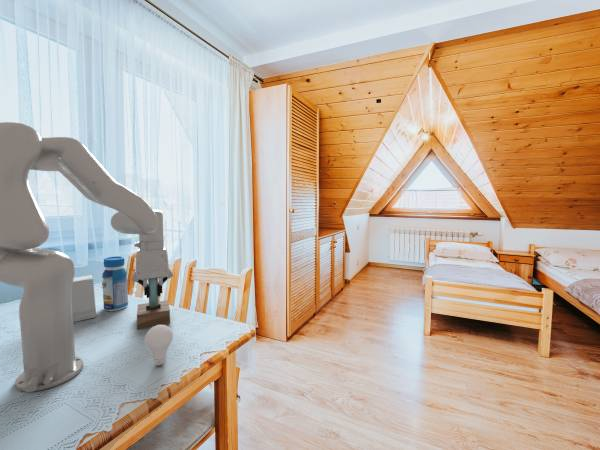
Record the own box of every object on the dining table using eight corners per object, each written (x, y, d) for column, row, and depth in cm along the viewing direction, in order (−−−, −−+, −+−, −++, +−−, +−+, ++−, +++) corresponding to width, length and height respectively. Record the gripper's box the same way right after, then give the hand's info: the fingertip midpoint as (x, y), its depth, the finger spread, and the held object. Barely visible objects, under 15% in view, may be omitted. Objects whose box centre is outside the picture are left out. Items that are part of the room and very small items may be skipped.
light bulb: (166, 355, 80) (165, 318, 79) (178, 364, 76) (177, 325, 75) (141, 365, 75) (140, 326, 74) (152, 376, 71) (151, 334, 70)
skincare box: (95, 312, 107) (93, 274, 105) (96, 318, 102) (94, 278, 101) (66, 318, 102) (64, 277, 100) (66, 324, 97) (63, 282, 95)
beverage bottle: (126, 310, 109) (124, 259, 107) (100, 313, 106) (97, 261, 104) (130, 302, 117) (128, 255, 115) (106, 304, 114) (104, 256, 112)
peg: (158, 306, 100) (157, 273, 99) (149, 307, 99) (147, 274, 98) (158, 303, 103) (157, 271, 102) (149, 304, 102) (147, 272, 100)
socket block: (170, 323, 99) (169, 310, 99) (137, 329, 95) (136, 315, 94) (168, 313, 108) (168, 300, 108) (138, 317, 103) (137, 304, 103)
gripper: (123, 249, 91) (126, 303, 93) (178, 245, 99) (179, 296, 101) (125, 245, 98) (127, 296, 100) (176, 242, 106) (177, 289, 108)
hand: (153, 295), depth 101 cm, fingers closed on peg, 3 cm apart
